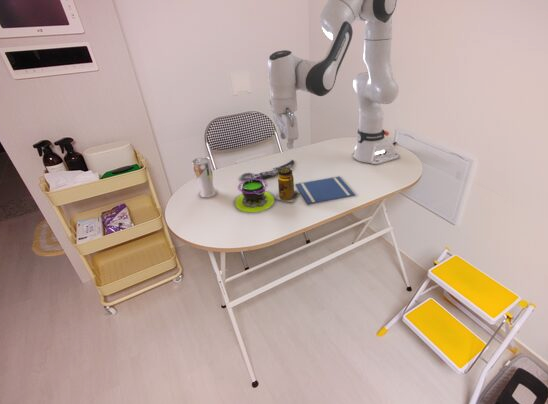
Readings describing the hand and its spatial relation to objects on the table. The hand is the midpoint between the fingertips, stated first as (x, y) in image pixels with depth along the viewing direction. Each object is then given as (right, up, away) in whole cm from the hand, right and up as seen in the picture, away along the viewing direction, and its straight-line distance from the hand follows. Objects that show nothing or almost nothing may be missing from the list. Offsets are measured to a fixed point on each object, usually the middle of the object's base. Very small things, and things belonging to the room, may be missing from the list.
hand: (286, 143), depth 110 cm
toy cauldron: (-13, -21, +9) cm, 27 cm away
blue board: (+14, -16, +16) cm, 27 cm away
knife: (-10, -8, +30) cm, 32 cm away
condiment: (0, -19, +12) cm, 23 cm away
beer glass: (-33, -18, +14) cm, 40 cm away
